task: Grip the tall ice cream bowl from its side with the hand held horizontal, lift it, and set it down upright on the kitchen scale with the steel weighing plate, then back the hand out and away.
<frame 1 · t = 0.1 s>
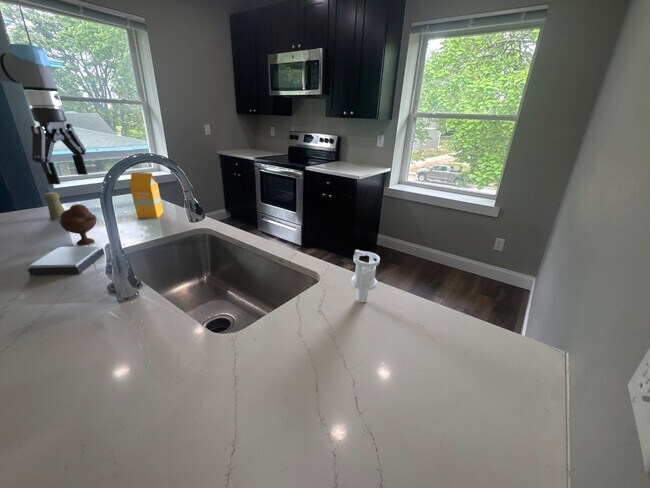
hand: (69, 179, 97), 26 cm above the worktop, tool pointing down, fingers open, 13 cm apart
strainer: (362, 300, 86), on the worktop
ice cream bowl: (85, 242, 113), on the worktop
scale: (70, 263, 98), on the worktop
orange juice: (150, 215, 142), on the worktop
cork: (59, 217, 136), on the worktop
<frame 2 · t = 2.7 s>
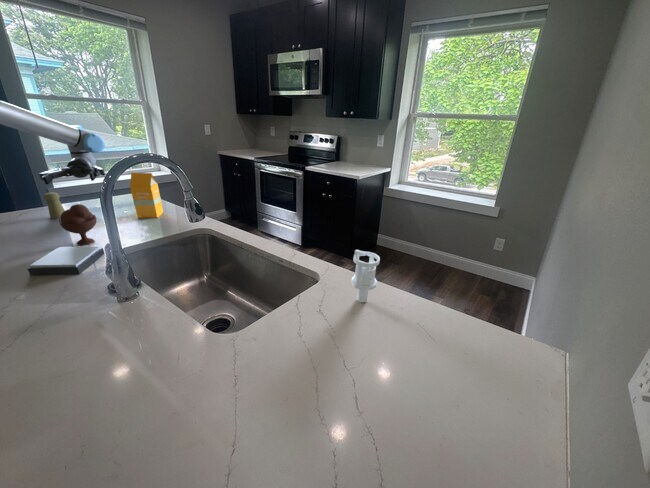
hand: (68, 178, 110), 22 cm above the worktop, tool horizontal, fingers open, 13 cm apart
nothing on the worktop moved.
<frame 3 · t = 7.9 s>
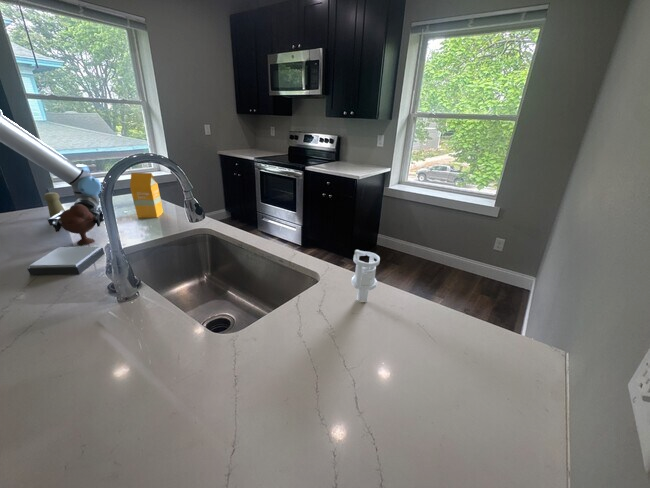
hand: (77, 225, 106), 8 cm above the worktop, tool horizontal, fingers closed on ice cream bowl, 11 cm apart
ice cream bowl: (85, 242, 113), on the worktop, touching gripper
everything else where it was.
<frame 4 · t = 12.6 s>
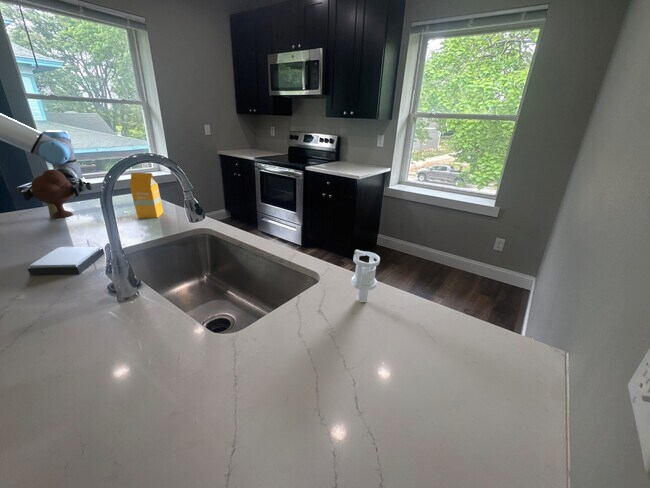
hand: (51, 194, 91), 23 cm above the worktop, tool horizontal, fingers closed on ice cream bowl, 11 cm apart
ice cream bowl: (62, 216, 97), point 14 cm above the worktop, touching gripper
everything else where it was.
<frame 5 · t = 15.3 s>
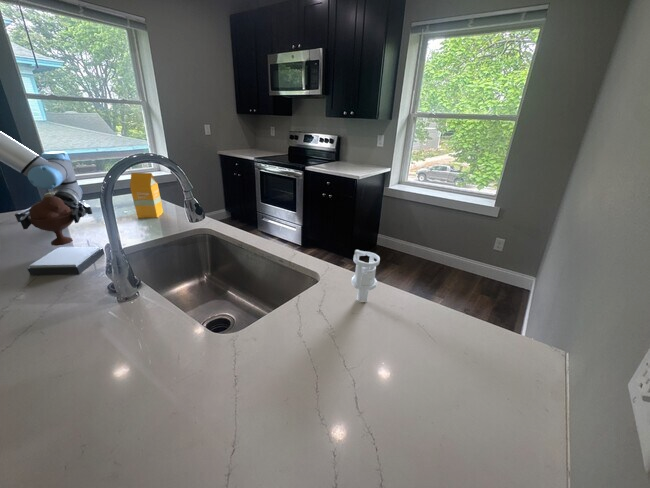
hand: (50, 221, 88), 16 cm above the worktop, tool horizontal, fingers closed on ice cream bowl, 11 cm apart
ice cream bowl: (62, 242, 95), point 8 cm above the worktop, touching gripper
everything else where it was.
when the fingers open (11 cm above the worktop, at t = 17.3 s): ice cream bowl stays where it is, resting on scale.
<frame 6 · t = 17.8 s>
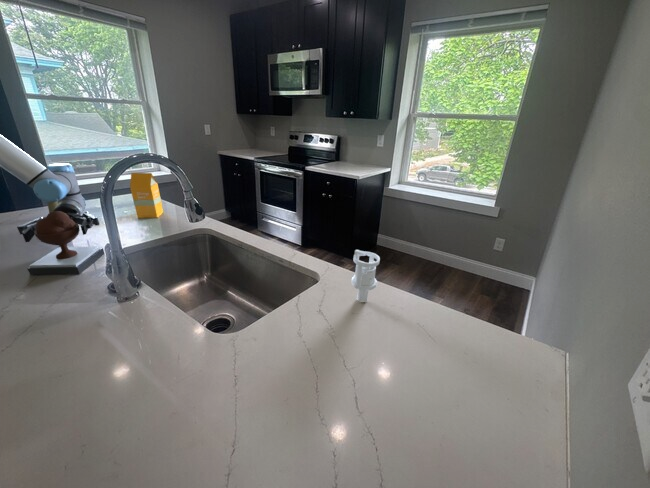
hand: (55, 234, 90), 12 cm above the worktop, tool horizontal, fingers open, 13 cm apart
ice cream bowl: (67, 255, 97), point 3 cm above the worktop, touching scale
everything else where it was.
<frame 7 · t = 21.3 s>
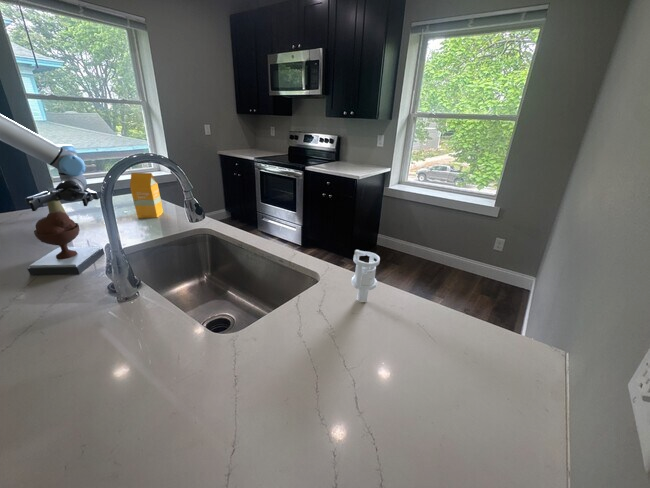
hand: (59, 204, 100), 17 cm above the worktop, tool horizontal, fingers open, 13 cm apart
nothing on the worktop moved.
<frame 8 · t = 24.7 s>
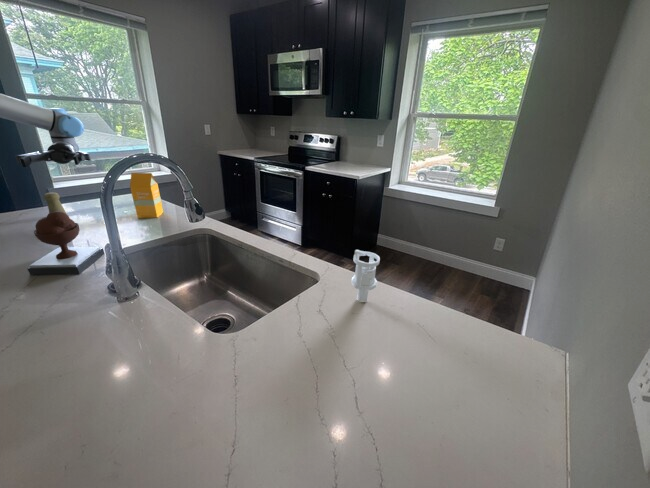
hand: (50, 161, 100), 30 cm above the worktop, tool horizontal, fingers open, 13 cm apart
nothing on the worktop moved.
at the end: ice cream bowl inside the target area on the scale (0.0 cm from its centre), point 3.0 cm above the scale's base; ice cream bowl tilted 0°; the gripper is holding nothing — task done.
